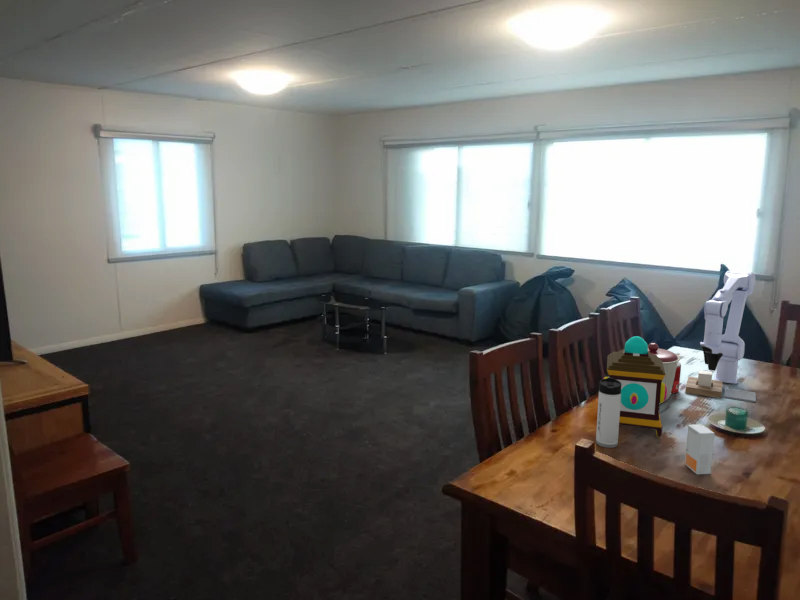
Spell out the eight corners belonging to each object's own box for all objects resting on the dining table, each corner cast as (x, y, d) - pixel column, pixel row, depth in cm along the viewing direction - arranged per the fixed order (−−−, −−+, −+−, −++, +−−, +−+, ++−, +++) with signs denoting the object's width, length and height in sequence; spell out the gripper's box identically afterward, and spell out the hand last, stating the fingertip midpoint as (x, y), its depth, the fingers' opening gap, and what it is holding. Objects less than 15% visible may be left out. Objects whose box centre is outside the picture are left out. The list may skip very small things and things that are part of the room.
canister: (669, 411, 201) (674, 352, 198) (616, 400, 212) (620, 344, 208) (681, 396, 216) (686, 341, 212) (631, 387, 226) (634, 334, 222)
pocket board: (688, 382, 231) (688, 376, 231) (722, 387, 225) (722, 381, 225) (685, 392, 219) (685, 386, 219) (721, 398, 214) (721, 391, 213)
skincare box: (683, 464, 162) (687, 424, 160) (698, 463, 163) (702, 423, 160) (696, 475, 156) (700, 433, 154) (711, 474, 157) (715, 432, 154)
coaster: (725, 389, 222) (725, 388, 222) (755, 394, 217) (755, 392, 217) (724, 397, 214) (724, 396, 214) (755, 402, 209) (756, 400, 209)
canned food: (674, 387, 226) (676, 359, 224) (682, 394, 218) (684, 366, 216) (654, 386, 227) (656, 359, 225) (661, 393, 219) (663, 365, 217)
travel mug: (617, 440, 178) (621, 378, 174) (617, 449, 172) (622, 385, 168) (595, 437, 180) (599, 376, 176) (595, 446, 174) (599, 383, 170)
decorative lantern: (597, 432, 185) (603, 341, 179) (599, 410, 203) (604, 327, 197) (666, 440, 178) (674, 346, 172) (661, 417, 196) (668, 331, 190)
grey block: (697, 387, 226) (699, 370, 224) (710, 389, 223) (712, 371, 222) (697, 390, 222) (698, 373, 220) (710, 392, 219) (712, 375, 218)
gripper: (698, 327, 224) (695, 360, 226) (704, 336, 210) (701, 371, 213) (718, 328, 222) (715, 362, 224) (726, 337, 208) (722, 373, 211)
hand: (710, 367), depth 218 cm, fingers open, 7 cm apart
